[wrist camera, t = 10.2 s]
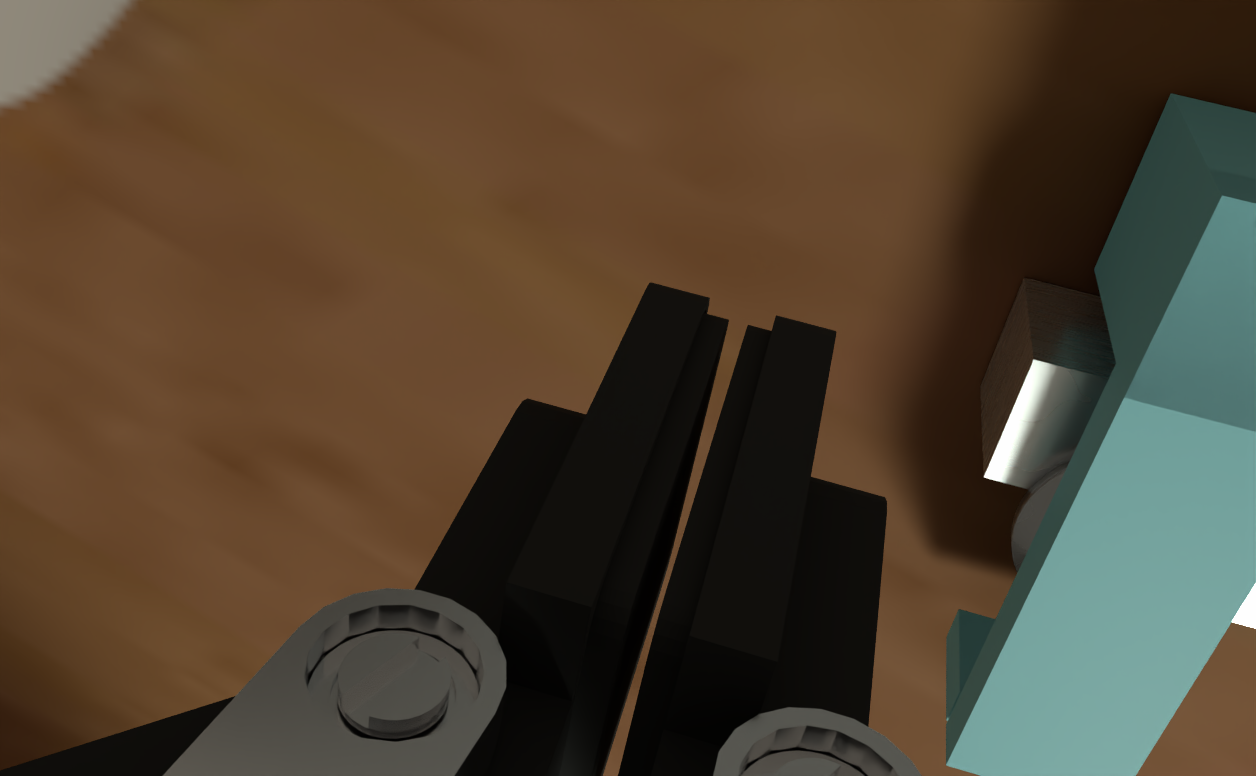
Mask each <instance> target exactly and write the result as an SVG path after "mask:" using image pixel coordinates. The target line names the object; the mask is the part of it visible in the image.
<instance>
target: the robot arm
mask: <svg viewBox="0 0 1256 776" xmlns="http://www.w3.org/2000/svg"><path fill="white" fill-rule="evenodd" d="M709 299H710V298H708V297H704V296H700V295H697V294H693V293H689V292H685V291H681V290H678V289H674V288H670V287H666V286H662V285H659V284H655V283H649V285H648V286H647V288H646V290H645V292H644V294H643V296H642V298H641V301H640V303H639V305H638V307H637V309H636V311H635V313H634V315H633V317H632V320H631V322H630V324H629V326H628V328H627V330H626V332H625V334H624V336H623V338H622V341H621V343H620V345H619V347H618V349H617V351H616V353H615V355H614V357H613V359H612V362H611V364H610V366H609V368H608V370H607V372H606V374H605V376H604V378H603V380H602V383H601V385H600V387H599V389H598V391H597V393H596V395H595V397H594V399H593V402H592V404H591V406H590V408H589V410H588V412H587V414H586V415H585V414H582V413H578V412H575V411H571V410H567V409H564V408H560V407H556V406H553V405H549V404H546V403H542V402H538V401H535V400H531V399H526V400H524V401H522V403H521V404H520V406H519V407H518V408H517V410H516V411H515V413H514V415H513V417H512V418H511V420H510V422H509V424H508V426H507V427H506V429H505V431H504V433H503V434H502V436H501V438H500V440H499V441H498V443H497V445H496V447H495V448H494V450H493V452H492V454H491V456H490V457H489V459H488V461H487V463H486V464H485V466H484V468H483V470H482V471H481V473H480V475H479V477H478V478H477V480H476V482H475V484H474V486H473V487H472V489H471V491H470V493H469V494H468V496H467V498H466V500H465V501H464V503H463V505H462V507H461V508H460V510H459V512H458V514H457V516H456V517H455V519H454V521H453V523H452V524H451V526H450V528H449V530H448V531H447V533H446V535H445V537H444V538H443V540H442V542H441V544H440V546H439V547H438V549H437V551H436V553H435V554H434V556H433V558H432V560H431V561H430V563H429V565H428V567H427V568H426V570H425V572H424V574H423V575H422V577H421V579H420V581H419V583H418V584H417V586H416V588H415V590H409V589H390V588H386V589H380V590H374V591H368V592H362V593H357V594H353V595H350V596H348V597H346V598H343V599H341V600H339V601H336V602H334V603H332V604H329V605H327V606H325V607H323V608H322V609H321V610H320V611H318V612H317V613H316V614H315V615H313V616H312V617H311V618H310V619H308V620H307V621H306V622H305V623H303V624H302V625H301V626H300V627H299V628H298V629H297V630H296V631H295V632H294V633H293V634H292V635H291V637H290V638H289V639H288V640H287V641H286V642H285V643H284V644H283V645H282V646H281V647H280V649H279V650H278V651H277V652H276V653H275V654H274V655H273V656H272V657H271V658H270V659H269V660H268V662H267V663H266V664H265V665H264V666H263V667H262V668H261V669H260V670H259V671H258V672H257V674H256V675H255V676H254V677H253V678H252V679H251V680H250V681H249V682H248V683H247V684H246V686H245V687H244V688H243V689H242V690H241V691H240V692H239V693H238V694H237V695H236V696H234V697H231V698H228V699H225V700H222V701H219V702H216V703H212V704H209V705H206V706H203V707H200V708H197V709H193V710H190V711H187V712H184V713H181V714H178V715H174V716H171V717H168V718H165V719H162V720H159V721H156V722H152V723H149V724H146V725H143V726H140V727H137V728H133V729H130V730H127V731H124V732H121V733H118V734H114V735H111V736H108V737H105V738H102V739H99V740H95V741H92V742H89V743H86V744H83V745H80V746H77V747H73V748H70V749H67V750H64V751H61V752H58V753H54V754H51V755H48V756H45V757H42V758H39V759H35V760H32V761H29V762H26V763H23V764H20V765H17V766H13V767H10V768H7V769H4V770H1V771H0V776H603V773H604V770H605V766H606V763H607V760H608V757H609V754H610V750H611V747H612V744H613V741H614V738H615V734H616V731H617V728H618V725H619V722H620V718H621V715H622V712H623V709H624V706H625V703H626V699H627V696H628V693H629V690H630V687H631V683H632V680H633V677H634V674H635V671H636V667H637V664H638V661H639V658H640V655H641V651H642V648H643V645H644V642H645V639H646V635H647V632H648V629H649V626H650V623H651V619H652V616H653V613H654V610H655V607H656V603H657V600H658V597H659V594H660V591H661V588H662V584H663V581H664V578H665V574H666V571H667V567H668V564H669V560H670V556H671V553H672V549H673V545H674V541H675V537H676V533H677V529H678V525H679V521H680V517H681V513H682V509H683V505H684V501H685V497H686V493H687V489H688V485H689V481H690V477H691V473H692V469H693V464H694V460H695V456H696V452H697V448H698V444H699V440H700V436H701V432H702V428H703V424H704V420H705V416H706V412H707V408H708V404H709V400H710V396H711V392H712V388H713V384H714V380H715V376H716V372H717V368H718V364H719V360H720V356H721V352H722V348H723V344H724V339H725V335H726V331H727V327H728V322H729V320H728V319H724V318H720V317H716V316H713V315H709V314H707V312H708V307H709ZM835 338H836V331H834V330H830V329H826V328H822V327H818V326H815V325H811V324H807V323H803V322H799V321H796V320H792V319H788V318H784V317H780V316H777V315H776V318H775V321H774V325H773V328H772V331H769V330H765V329H762V328H758V327H754V326H750V325H748V326H747V329H746V332H745V336H744V339H743V342H742V345H741V349H740V352H739V355H738V358H737V362H736V365H735V368H734V372H733V375H732V378H731V381H730V385H729V388H728V391H727V394H726V398H725V401H724V404H723V407H722V411H721V414H720V417H719V420H718V424H717V427H716V430H715V433H714V437H713V440H712V443H711V446H710V450H709V453H708V456H707V459H706V463H705V466H704V469H703V472H702V476H701V479H700V482H699V485H698V489H697V492H696V495H695V498H694V502H693V505H692V508H691V511H690V515H689V518H688V521H687V525H686V528H685V531H684V534H683V538H682V541H681V544H680V547H679V551H678V554H677V557H676V560H675V564H674V567H673V570H672V573H671V577H670V580H669V583H668V586H667V590H666V593H665V596H664V600H663V603H662V606H661V610H660V613H659V617H658V620H657V624H656V628H655V631H654V635H653V639H652V642H651V646H650V650H649V654H648V658H647V661H646V665H645V669H644V674H643V678H642V682H641V686H640V690H639V694H638V698H637V702H636V706H635V710H634V714H633V718H632V722H631V726H630V730H629V734H628V738H627V742H626V746H625V750H624V754H623V758H622V762H621V766H620V770H619V774H618V776H921V774H920V773H919V771H918V770H917V768H916V767H915V765H914V764H913V762H912V761H911V760H910V759H909V758H908V757H907V756H906V755H905V754H904V753H903V752H901V751H900V750H899V749H898V748H897V747H896V746H895V745H894V744H893V743H892V742H890V741H889V740H888V739H887V738H886V737H885V736H883V735H881V734H880V733H878V732H876V731H874V730H873V729H871V728H869V727H868V724H869V712H870V701H871V689H872V678H873V666H874V655H875V643H876V632H877V620H878V609H879V597H880V586H881V574H882V563H883V551H884V540H885V528H886V517H887V501H886V498H885V497H882V496H878V495H875V494H871V493H868V492H864V491H860V490H857V489H853V488H850V487H846V486H842V485H839V484H835V483H831V482H828V481H824V480H821V479H817V478H813V477H811V472H812V466H813V460H814V455H815V449H816V444H817V438H818V433H819V427H820V421H821V416H822V410H823V405H824V399H825V394H826V388H827V383H828V377H829V371H830V366H831V360H832V355H833V349H834V344H835Z"/></svg>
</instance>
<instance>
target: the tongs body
mask: <svg viewBox="0 0 1256 776" xmlns="http://www.w3.org/2000/svg"><path fill="white" fill-rule="evenodd" d="M1115 365H1116V361H1115V356H1114V352H1113V348H1112V343H1111V339H1110V335H1109V331H1108V326H1107V322H1106V318H1105V314H1104V309H1103V305H1102V301H1101V297H1100V296H1096V295H1092V294H1088V293H1084V292H1080V291H1076V290H1072V289H1068V288H1064V287H1060V286H1056V285H1052V284H1048V283H1044V282H1040V281H1037V280H1033V279H1029V278H1025V277H1024V279H1023V281H1022V284H1021V286H1020V289H1019V291H1018V294H1017V296H1016V299H1015V301H1014V304H1013V306H1012V309H1011V311H1010V314H1009V316H1008V319H1007V321H1006V324H1005V326H1004V329H1003V331H1002V334H1001V336H1000V339H999V341H998V344H997V346H996V349H995V351H994V354H993V356H992V359H991V361H990V364H989V366H988V369H987V371H986V374H985V376H984V379H983V381H982V384H981V386H980V395H981V420H982V445H983V469H984V478H988V479H992V480H995V481H999V482H1003V483H1006V484H1010V485H1014V486H1018V487H1021V488H1025V489H1029V490H1028V491H1027V493H1026V494H1025V495H1024V497H1023V498H1022V500H1021V502H1020V503H1019V505H1018V507H1017V509H1016V512H1015V515H1014V518H1013V522H1012V527H1011V548H1012V556H1013V562H1014V565H1015V568H1016V571H1017V573H1018V571H1019V569H1020V566H1021V564H1022V562H1023V560H1024V558H1025V556H1026V554H1027V552H1028V549H1029V547H1030V545H1031V543H1032V541H1033V539H1034V537H1035V535H1036V532H1037V530H1038V528H1039V526H1040V524H1041V522H1042V520H1043V518H1044V515H1045V513H1046V511H1047V509H1048V507H1049V505H1050V503H1051V501H1052V498H1053V496H1054V494H1055V492H1056V490H1057V488H1058V486H1059V484H1060V481H1061V479H1062V477H1063V475H1064V473H1065V471H1066V469H1067V467H1068V464H1069V462H1070V460H1071V458H1072V456H1073V454H1074V452H1075V450H1076V447H1077V445H1078V443H1079V441H1080V439H1081V437H1082V435H1083V433H1084V430H1085V428H1086V426H1087V424H1088V422H1089V420H1090V418H1091V416H1092V413H1093V411H1094V409H1095V407H1096V405H1097V403H1098V401H1099V399H1100V396H1101V394H1102V392H1103V390H1104V388H1105V386H1106V384H1107V382H1108V379H1109V377H1110V375H1111V373H1112V371H1113V369H1114V367H1115Z"/></svg>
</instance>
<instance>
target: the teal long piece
mask: <svg viewBox="0 0 1256 776" xmlns="http://www.w3.org/2000/svg"><path fill="white" fill-rule="evenodd" d="M1094 271H1095V275H1096V279H1097V284H1098V288H1099V292H1100V296H1101V301H1102V305H1103V309H1104V314H1105V318H1106V322H1107V326H1108V331H1109V335H1110V339H1111V343H1112V348H1113V352H1114V356H1115V361H1116V365H1115V367H1114V369H1113V371H1112V373H1111V375H1110V377H1109V379H1108V382H1107V384H1106V386H1105V388H1104V390H1103V392H1102V394H1101V396H1100V399H1099V401H1098V403H1097V405H1096V407H1095V409H1094V411H1093V413H1092V416H1091V418H1090V420H1089V422H1088V424H1087V426H1086V428H1085V430H1084V433H1083V435H1082V437H1081V439H1080V441H1079V443H1078V445H1077V447H1076V450H1075V452H1074V454H1073V456H1072V458H1071V460H1070V462H1069V464H1068V467H1067V469H1066V471H1065V473H1064V475H1063V477H1062V479H1061V481H1060V484H1059V486H1058V488H1057V490H1056V492H1055V494H1054V496H1053V498H1052V501H1051V503H1050V505H1049V507H1048V509H1047V511H1046V513H1045V515H1044V518H1043V520H1042V522H1041V524H1040V526H1039V528H1038V530H1037V532H1036V535H1035V537H1034V539H1033V541H1032V543H1031V545H1030V547H1029V549H1028V552H1027V554H1026V556H1025V558H1024V560H1023V562H1022V564H1021V566H1020V569H1019V571H1018V573H1017V575H1016V577H1015V579H1014V581H1013V583H1012V586H1011V588H1010V590H1009V592H1008V594H1007V596H1006V598H1005V600H1004V603H1003V605H1002V607H1001V609H1000V611H999V613H998V615H997V617H996V619H992V618H989V617H985V616H982V615H978V614H975V613H971V612H968V611H964V610H961V609H959V610H958V612H957V615H956V617H955V619H954V621H953V624H952V626H951V628H950V630H949V633H948V635H947V657H946V720H947V721H948V722H947V724H946V765H947V766H950V767H953V768H957V769H960V770H964V771H967V772H970V773H974V774H977V775H981V776H1136V774H1137V773H1138V771H1139V769H1140V768H1141V766H1142V765H1143V763H1144V761H1145V760H1146V758H1147V757H1148V755H1149V753H1150V752H1151V750H1152V749H1153V747H1154V745H1155V744H1156V742H1157V741H1158V739H1159V737H1160V736H1161V734H1162V733H1163V731H1164V729H1165V728H1166V726H1167V725H1168V723H1169V721H1170V720H1171V718H1172V717H1173V715H1174V713H1175V712H1176V710H1177V709H1178V707H1179V705H1180V704H1181V702H1182V701H1183V699H1184V697H1185V696H1186V694H1187V693H1188V691H1189V689H1190V688H1191V686H1192V685H1193V683H1194V681H1195V680H1196V678H1197V677H1198V675H1199V673H1200V672H1201V670H1202V669H1203V667H1204V665H1205V664H1206V662H1207V661H1208V659H1209V657H1210V656H1211V654H1212V653H1213V651H1214V649H1215V648H1216V646H1217V645H1218V643H1219V641H1220V640H1221V638H1222V637H1223V635H1224V633H1225V632H1226V630H1227V629H1228V627H1229V625H1230V624H1231V622H1232V621H1233V619H1234V617H1235V616H1236V614H1237V613H1238V611H1239V609H1240V608H1241V606H1242V605H1243V603H1244V601H1245V600H1246V598H1247V597H1248V595H1249V593H1250V592H1251V590H1252V589H1253V587H1254V585H1255V584H1256V113H1253V112H1249V111H1245V110H1240V109H1236V108H1232V107H1227V106H1223V105H1219V104H1215V103H1210V102H1206V101H1202V100H1198V99H1193V98H1189V97H1185V96H1180V95H1176V94H1172V93H1171V94H1170V96H1169V99H1168V101H1167V103H1166V105H1165V108H1164V110H1163V112H1162V115H1161V117H1160V119H1159V121H1158V124H1157V126H1156V128H1155V131H1154V133H1153V135H1152V138H1151V140H1150V142H1149V144H1148V147H1147V149H1146V151H1145V154H1144V156H1143V158H1142V161H1141V163H1140V165H1139V167H1138V170H1137V172H1136V174H1135V177H1134V179H1133V181H1132V183H1131V186H1130V188H1129V190H1128V193H1127V195H1126V197H1125V200H1124V202H1123V204H1122V206H1121V209H1120V211H1119V213H1118V216H1117V218H1116V220H1115V223H1114V225H1113V227H1112V229H1111V232H1110V234H1109V236H1108V239H1107V241H1106V243H1105V245H1104V248H1103V250H1102V252H1101V255H1100V257H1099V259H1098V262H1097V264H1096V266H1095V268H1094Z"/></svg>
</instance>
